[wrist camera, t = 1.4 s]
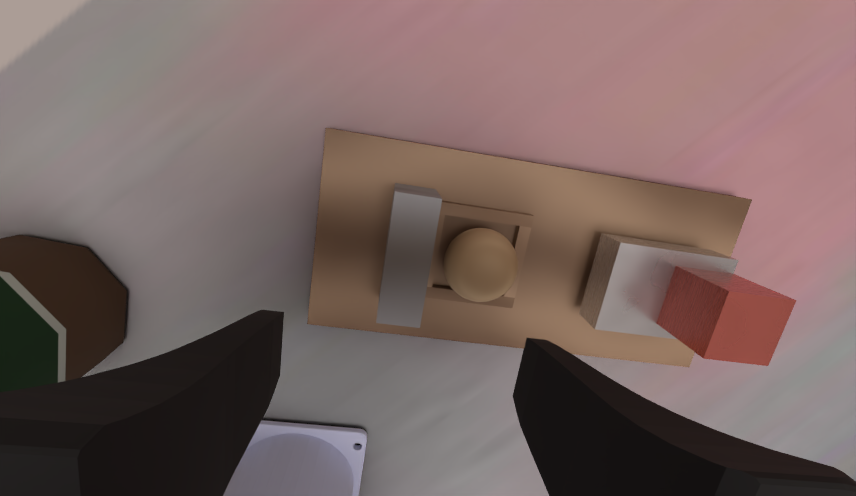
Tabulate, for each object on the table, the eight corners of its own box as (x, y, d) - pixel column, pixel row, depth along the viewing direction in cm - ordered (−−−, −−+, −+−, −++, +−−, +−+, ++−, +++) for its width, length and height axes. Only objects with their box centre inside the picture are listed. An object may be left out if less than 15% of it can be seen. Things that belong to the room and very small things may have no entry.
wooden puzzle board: (675, 356, 25) (729, 399, 21) (311, 314, 22) (293, 353, 18) (733, 196, 22) (807, 210, 18) (329, 128, 20) (312, 127, 16)
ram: (682, 326, 22) (761, 380, 17) (578, 313, 21) (631, 365, 17) (710, 249, 21) (803, 284, 16) (601, 233, 20) (664, 264, 16)
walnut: (499, 289, 22) (518, 318, 18) (434, 281, 21) (441, 309, 18) (513, 226, 21) (536, 244, 17) (446, 216, 20) (456, 232, 17)
